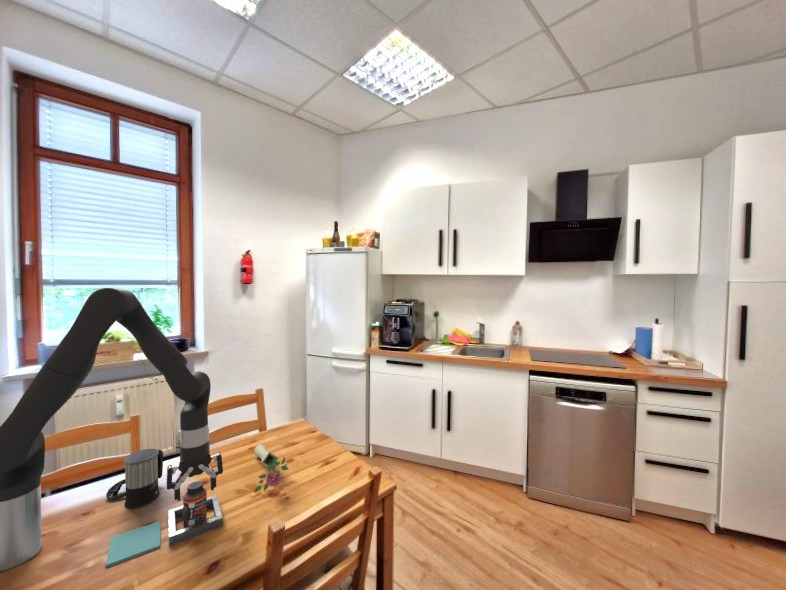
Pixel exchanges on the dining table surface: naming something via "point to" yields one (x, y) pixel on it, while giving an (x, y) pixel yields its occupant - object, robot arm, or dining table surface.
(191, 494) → the supplement bottle
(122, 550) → the teal mat
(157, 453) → the milk frother
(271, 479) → the flower vase
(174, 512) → the grey square frame
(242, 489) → the dining table surface
